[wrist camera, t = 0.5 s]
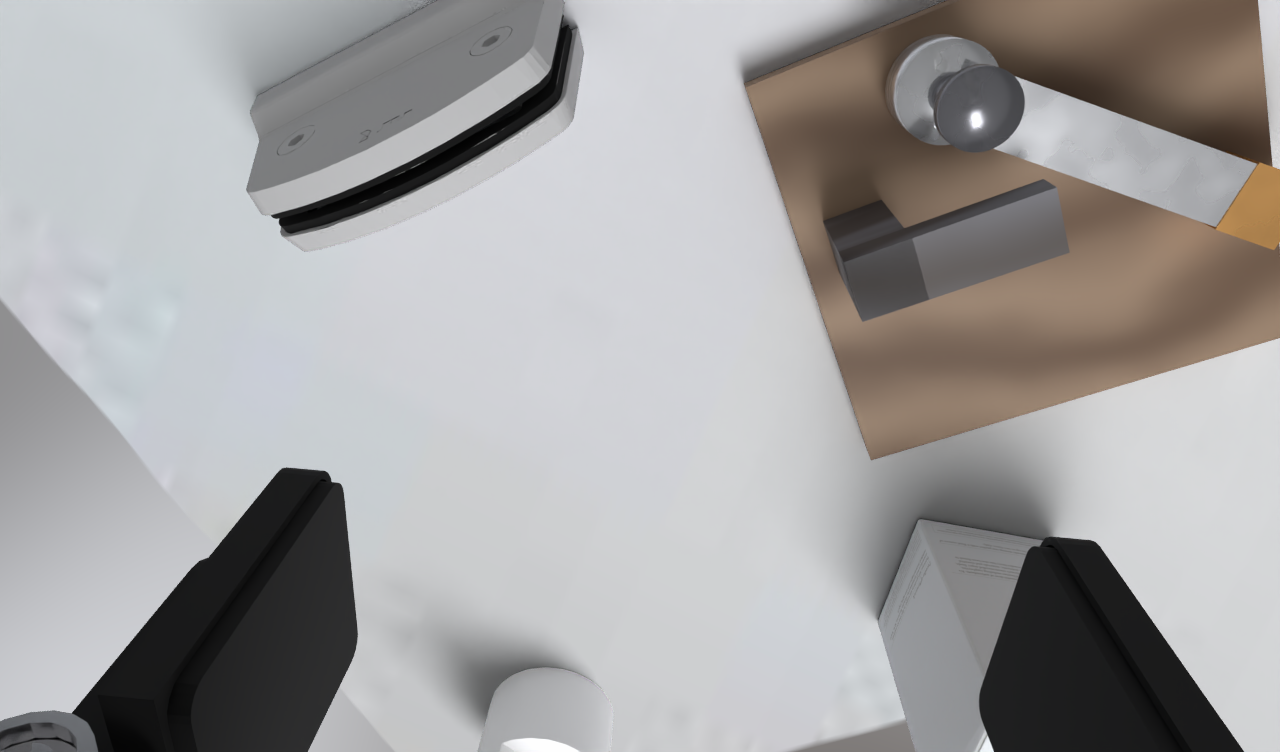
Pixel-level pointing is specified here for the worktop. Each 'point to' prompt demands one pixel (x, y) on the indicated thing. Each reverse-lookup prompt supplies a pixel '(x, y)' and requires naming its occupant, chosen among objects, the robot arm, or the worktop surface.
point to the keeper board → (1109, 234)
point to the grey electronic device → (412, 117)
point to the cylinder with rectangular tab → (548, 714)
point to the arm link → (1076, 138)
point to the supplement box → (948, 628)
